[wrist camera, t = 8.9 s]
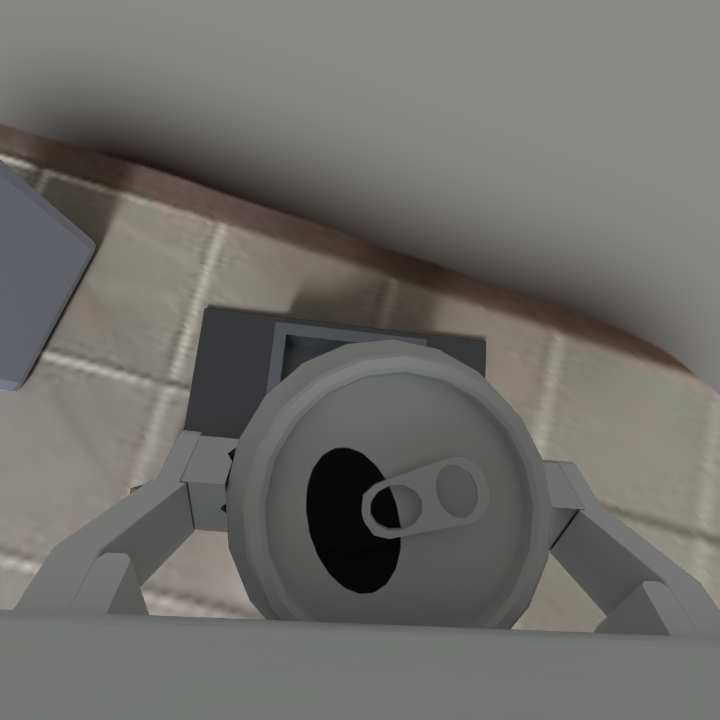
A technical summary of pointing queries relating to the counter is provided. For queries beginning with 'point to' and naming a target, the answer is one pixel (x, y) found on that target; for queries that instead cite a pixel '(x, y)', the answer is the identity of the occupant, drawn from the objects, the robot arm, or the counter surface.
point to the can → (388, 494)
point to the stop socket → (277, 361)
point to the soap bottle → (33, 273)
